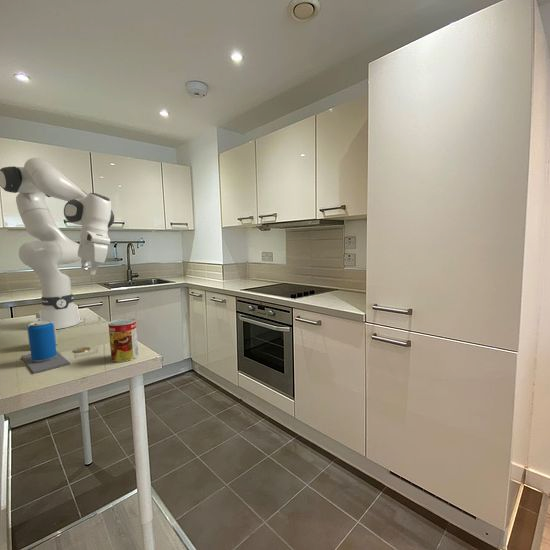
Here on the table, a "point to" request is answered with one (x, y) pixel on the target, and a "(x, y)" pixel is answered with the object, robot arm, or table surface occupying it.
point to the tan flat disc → (81, 349)
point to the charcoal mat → (45, 363)
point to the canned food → (123, 339)
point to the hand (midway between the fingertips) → (87, 272)
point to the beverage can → (42, 341)
